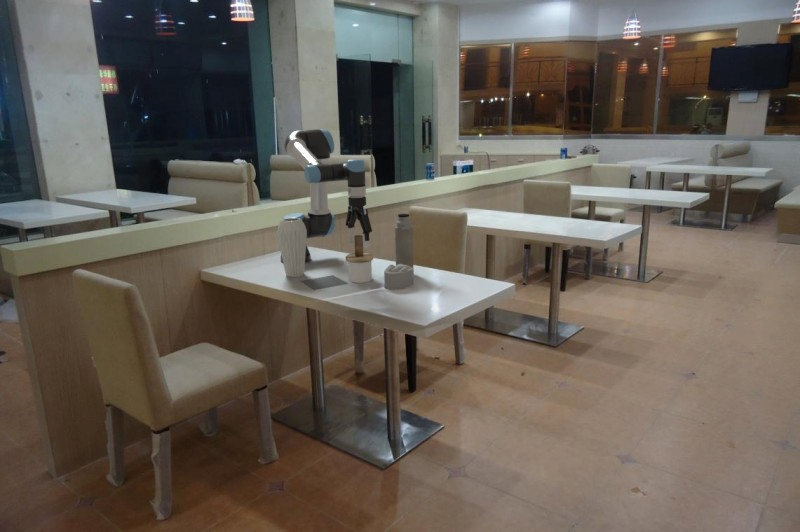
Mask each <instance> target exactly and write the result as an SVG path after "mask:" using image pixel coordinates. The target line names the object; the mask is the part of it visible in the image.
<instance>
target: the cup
mask: <svg viewBox="0 0 800 532" xmlns="http://www.w3.org/2000/svg"><path fill="white" fill-rule="evenodd" d="M347 263H348V278H349V282H351V283H354V284H365V283H368V282H371V280H372V279H373V272H372V271H373V269H372V267H373V266H372V261H369V262H363V263H352V262H347Z"/></svg>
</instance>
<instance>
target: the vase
mask: <svg viewBox="0 0 800 532" xmlns="http://www.w3.org/2000/svg"><path fill="white" fill-rule="evenodd" d="M276 235H277V241H278V245H279V249H280V256H281V255H282V259H283V262H282V264H283V268H284V272H285V276H286V277H288V278H298V277H299V278H300V277H302V276H304V275H305V266H306V262H305V253H306V245H307V239H306V237H307V230H306V227H305V224H304V223H303V221H302V220H301V219H300V218H287V219H282V218H281V220H280V221H279V224H278V225H277V231H276Z"/></svg>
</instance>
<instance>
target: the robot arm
mask: <svg viewBox="0 0 800 532" xmlns="http://www.w3.org/2000/svg"><path fill="white" fill-rule="evenodd" d="M284 151H285V152H286V154H287V155H289V157H290V158H293V159H295V160H296V162H297V163H298V164H299V165H300V166H301V168H302V169H303V170H304V171H303V172H304V178H305V181H306V182H307V183H308V184H309V192H310V198H309V199H310V208H309V209H308V210H307V215H305V213H303V212H297V213H296V212H295V213H289V214H287V215H285V216H283V217H282V218H281V220H282V219H287V218H300V219H301V220H302V221H303V223H304V224H305V227H306V230H307V237H306V240H307V239H314V238H324V237H327V236H328V237H329V236H332V235H333V233H334V231H335V228H336V220H335V218H336V217H335V215H334V213H332V212H331V210H330V208H328V206H329V205H328V201H329V200H328V199H329V198H328V183H329V182H331V183H332V182H340V181H341V182H343V181H347V194H348V196H349V197H348V201H347V202H348V206H347V216H346V219H345V226H347V228H348V243H349V244H351V243H355V240H354V236H355V235H356V228H355V224H356V221H357V220H358V222H359V225H360V227H361V228H362V229H361V230H362V234H361V235H363V250H364V249H365V250H366V249H370V246H371V245H370V233H372V232H373V228H372V224H371V222H370V218H369V213H368V212H369V210H368V209H367V208H366V209H365V208H364V207H365V206H367V197H366V195H367V189H366V188H367V186H366V166H365V161H364V159H361V158H360V159H359V158H352V159H348V160H347V161H345V162H344V161H342V162H335V163H328V160H329V159H330V158H331V154H333V153H334V151H335V142H334V138H333V135H332V134H331V132H330V131H329V130H328V129H323V128H322V129H321V128H319V129H318V128H316V129H298V130H297V129H296V130H294V131H292V132H291V133H289V134H288V136H286V138H285V141H284ZM311 259H312V255H311V253H310V250H309V248H308V245H307V244H306V253H305V263H306V262H307V263H308V262H309V261H311ZM280 262H281V263H283V259H282V255H281V254H280Z"/></svg>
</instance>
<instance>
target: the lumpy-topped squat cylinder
mask: <svg viewBox="0 0 800 532" xmlns="http://www.w3.org/2000/svg"><path fill="white" fill-rule="evenodd" d="M413 268H414V267H413ZM413 268H412V267H410V266H408V265H403V264H398V265H397V266H396V265H394V264H389V265H388V266H387V267H386V268H385V269H384V272H383V275H384V279H383V280H384V289H385V290H389V291H390V290H392V291H395V290H403V289H407V288H410V287H412V286H413V285H414V275H413Z"/></svg>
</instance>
